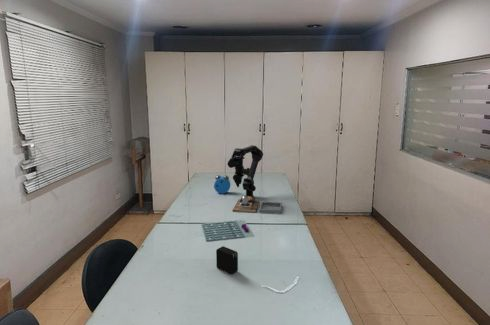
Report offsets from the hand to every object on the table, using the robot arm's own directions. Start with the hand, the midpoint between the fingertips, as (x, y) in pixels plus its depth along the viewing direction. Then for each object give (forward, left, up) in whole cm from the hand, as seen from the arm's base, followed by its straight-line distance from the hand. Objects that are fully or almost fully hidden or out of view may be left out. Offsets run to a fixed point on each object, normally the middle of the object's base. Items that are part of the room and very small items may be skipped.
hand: (239, 185), depth 249 cm
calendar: (+52, +2, -14) cm, 54 cm away
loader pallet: (+9, +7, -13) cm, 17 cm away
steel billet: (+14, +7, -12) cm, 20 cm away
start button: (+2, +7, -11) cm, 13 cm away
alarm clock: (-20, -18, -13) cm, 30 cm away
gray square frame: (+12, +25, -13) cm, 31 cm away
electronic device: (+97, +12, -13) cm, 99 cm away
